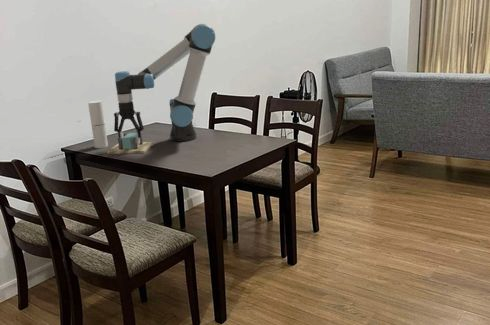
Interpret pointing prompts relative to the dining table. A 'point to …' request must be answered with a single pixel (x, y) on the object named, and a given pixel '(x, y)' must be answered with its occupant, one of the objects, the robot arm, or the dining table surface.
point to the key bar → (128, 141)
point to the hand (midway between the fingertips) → (130, 143)
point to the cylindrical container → (98, 124)
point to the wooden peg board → (138, 148)
